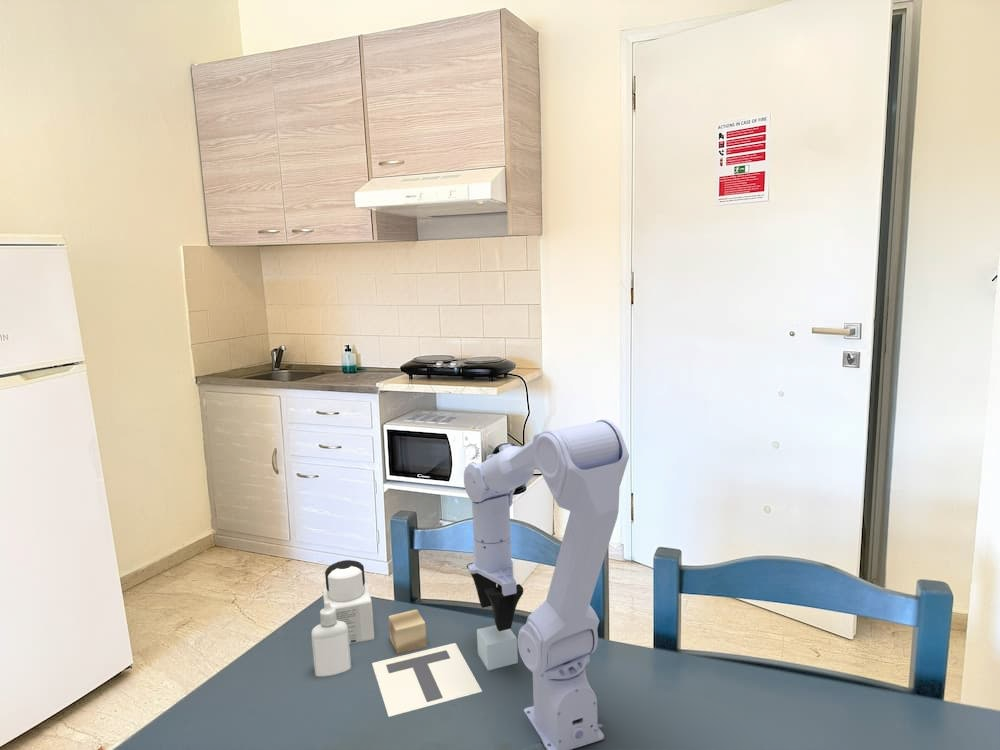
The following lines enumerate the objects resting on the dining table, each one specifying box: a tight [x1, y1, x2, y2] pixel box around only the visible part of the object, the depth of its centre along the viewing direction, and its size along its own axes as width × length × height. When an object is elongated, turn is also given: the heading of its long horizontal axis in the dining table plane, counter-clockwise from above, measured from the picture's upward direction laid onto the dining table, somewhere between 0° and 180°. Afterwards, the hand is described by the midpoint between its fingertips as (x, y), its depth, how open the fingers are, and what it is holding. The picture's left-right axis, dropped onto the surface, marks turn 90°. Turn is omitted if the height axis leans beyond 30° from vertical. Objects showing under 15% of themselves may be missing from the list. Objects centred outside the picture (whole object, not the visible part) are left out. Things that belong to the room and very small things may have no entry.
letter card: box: [371, 642, 483, 718], centre depth 103 cm, size 14×14×1 cm
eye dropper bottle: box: [310, 601, 352, 677], centre depth 105 cm, size 4×6×12 cm
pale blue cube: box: [476, 624, 519, 671], centre depth 107 cm, size 5×5×5 cm
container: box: [322, 559, 375, 645], centre depth 116 cm, size 8×8×13 cm
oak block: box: [388, 609, 428, 655], centre depth 112 cm, size 5×5×5 cm
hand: (495, 616), depth 106 cm, fingers open, 7 cm apart
